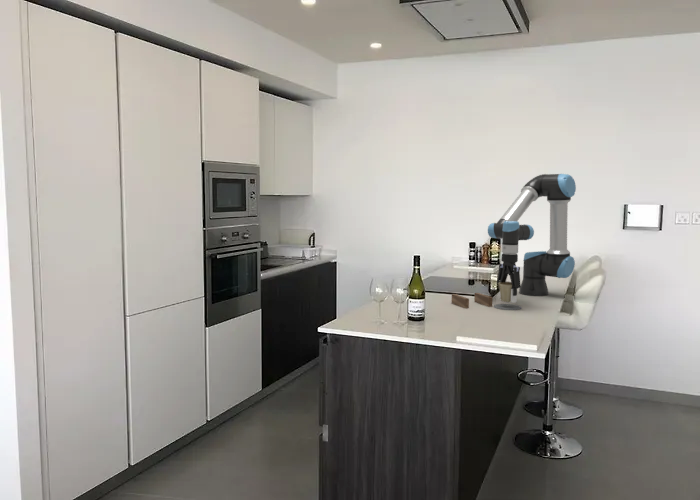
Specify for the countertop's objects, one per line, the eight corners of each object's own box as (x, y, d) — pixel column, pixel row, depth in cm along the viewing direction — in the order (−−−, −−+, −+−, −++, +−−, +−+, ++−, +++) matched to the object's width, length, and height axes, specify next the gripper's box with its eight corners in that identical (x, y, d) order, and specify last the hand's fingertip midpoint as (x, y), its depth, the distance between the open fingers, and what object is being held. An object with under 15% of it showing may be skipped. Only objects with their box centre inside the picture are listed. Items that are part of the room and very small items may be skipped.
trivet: (511, 304, 293) (511, 303, 293) (527, 309, 281) (527, 308, 280) (488, 305, 288) (488, 304, 288) (503, 310, 276) (503, 309, 276)
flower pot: (518, 303, 279) (519, 285, 278) (498, 302, 280) (498, 284, 280) (517, 300, 288) (517, 282, 287) (497, 299, 290) (497, 281, 289)
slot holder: (477, 301, 298) (478, 292, 298) (492, 306, 286) (492, 297, 286) (451, 303, 293) (451, 294, 293) (465, 308, 281) (465, 298, 281)
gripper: (490, 251, 290) (488, 297, 293) (516, 256, 271) (514, 304, 273) (503, 251, 293) (501, 296, 295) (530, 255, 273) (527, 304, 275)
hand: (507, 300), depth 284 cm, fingers closed on flower pot, 8 cm apart
